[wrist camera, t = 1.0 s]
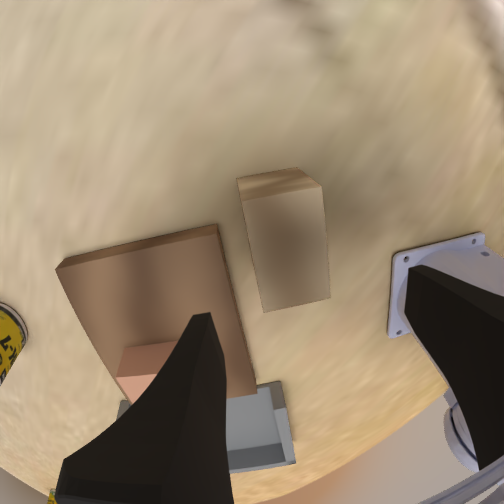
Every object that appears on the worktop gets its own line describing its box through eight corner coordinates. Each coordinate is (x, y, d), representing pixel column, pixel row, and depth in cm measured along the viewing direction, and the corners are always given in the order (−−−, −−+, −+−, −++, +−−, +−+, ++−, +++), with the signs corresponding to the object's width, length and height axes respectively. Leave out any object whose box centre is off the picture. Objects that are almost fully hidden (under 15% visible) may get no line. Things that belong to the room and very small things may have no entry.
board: (216, 223, 19) (216, 233, 18) (255, 379, 25) (257, 393, 24) (64, 258, 19) (55, 269, 18) (135, 394, 25) (132, 407, 24)
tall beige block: (296, 167, 18) (321, 186, 14) (307, 256, 21) (330, 298, 16) (236, 178, 18) (241, 201, 14) (254, 267, 21) (263, 312, 16)
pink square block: (204, 336, 21) (202, 368, 18) (224, 391, 23) (225, 421, 21) (124, 347, 21) (115, 377, 18) (154, 399, 23) (150, 427, 20)
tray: (280, 380, 26) (286, 407, 23) (291, 441, 30) (296, 463, 28) (120, 400, 25) (114, 425, 23) (164, 456, 30) (162, 477, 28)
